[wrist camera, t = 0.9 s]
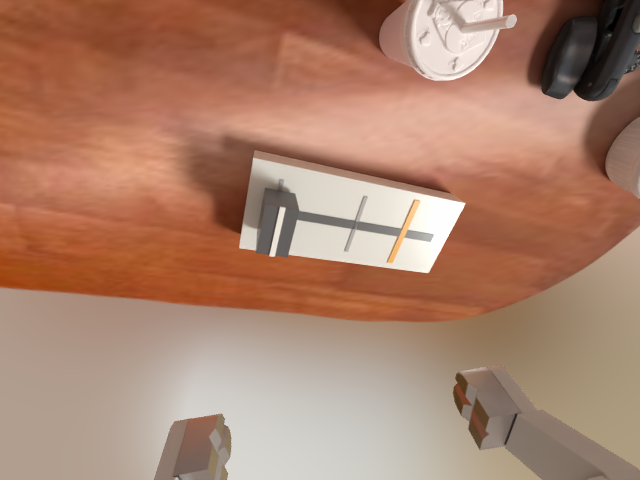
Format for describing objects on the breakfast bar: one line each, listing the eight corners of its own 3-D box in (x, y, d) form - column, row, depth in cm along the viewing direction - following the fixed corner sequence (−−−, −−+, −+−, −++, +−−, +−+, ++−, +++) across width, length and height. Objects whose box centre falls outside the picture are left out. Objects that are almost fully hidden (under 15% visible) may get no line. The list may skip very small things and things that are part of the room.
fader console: (240, 234, 35) (238, 248, 32) (254, 149, 30) (253, 158, 28) (418, 260, 41) (428, 273, 39) (451, 193, 37) (466, 203, 34)
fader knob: (256, 232, 31) (255, 254, 28) (265, 187, 29) (265, 204, 25) (284, 236, 32) (287, 258, 28) (295, 193, 30) (299, 210, 26)
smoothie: (409, 87, 30) (507, 103, 18) (352, 58, 27) (421, 55, 16) (445, 12, 27) (589, -26, 15) (385, -26, 25) (497, -105, 13)
